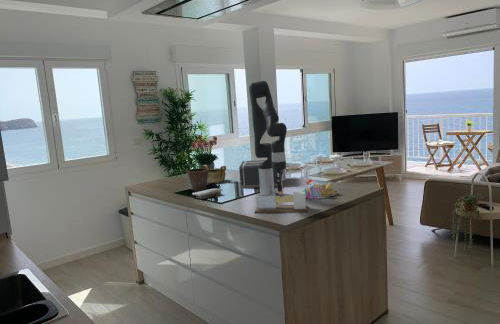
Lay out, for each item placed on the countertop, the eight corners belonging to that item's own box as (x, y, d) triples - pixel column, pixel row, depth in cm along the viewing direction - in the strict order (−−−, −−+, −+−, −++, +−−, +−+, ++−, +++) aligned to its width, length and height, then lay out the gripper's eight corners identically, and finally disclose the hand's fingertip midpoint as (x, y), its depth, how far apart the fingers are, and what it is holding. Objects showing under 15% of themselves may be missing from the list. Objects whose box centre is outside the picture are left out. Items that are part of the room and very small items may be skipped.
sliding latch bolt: (270, 201, 219) (268, 180, 218) (300, 200, 216) (299, 179, 215) (269, 202, 216) (267, 182, 215) (300, 201, 213) (299, 180, 212)
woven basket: (197, 185, 313) (196, 166, 311) (211, 181, 327) (210, 163, 325) (219, 186, 300) (218, 167, 298) (233, 182, 314) (231, 163, 312)
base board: (258, 207, 226) (258, 206, 226) (307, 206, 220) (307, 204, 220) (254, 213, 214) (254, 211, 214) (307, 211, 209) (307, 210, 209)
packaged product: (223, 195, 265) (215, 195, 272) (222, 188, 264) (214, 188, 272) (200, 201, 253) (192, 200, 261) (199, 193, 253) (191, 192, 261)
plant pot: (209, 193, 278) (207, 170, 276) (187, 194, 278) (185, 172, 276) (211, 189, 293) (209, 167, 291) (190, 190, 293) (188, 169, 291)
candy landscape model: (342, 192, 251) (342, 178, 250) (328, 201, 231) (327, 185, 230) (306, 190, 265) (306, 177, 263) (290, 198, 245) (289, 183, 244)
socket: (294, 206, 219) (293, 192, 218) (305, 205, 218) (304, 191, 217) (294, 209, 213) (293, 194, 212) (305, 208, 212) (304, 194, 211)
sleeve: (258, 207, 222) (257, 194, 221) (276, 207, 220) (275, 193, 219) (257, 209, 217) (256, 196, 216) (275, 209, 215) (274, 195, 214)
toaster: (290, 186, 279) (289, 162, 277) (240, 190, 282) (238, 166, 279) (288, 179, 309) (287, 157, 307) (243, 182, 311) (241, 160, 309)
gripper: (273, 159, 221) (275, 187, 223) (270, 162, 207) (272, 192, 210) (286, 158, 220) (288, 187, 222) (284, 161, 206) (286, 192, 208)
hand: (280, 189), depth 216 cm, fingers open, 8 cm apart
